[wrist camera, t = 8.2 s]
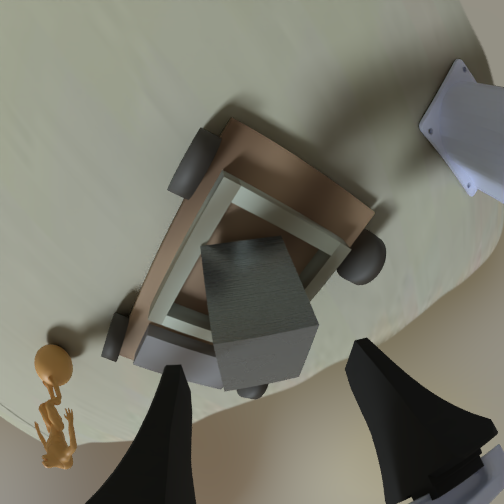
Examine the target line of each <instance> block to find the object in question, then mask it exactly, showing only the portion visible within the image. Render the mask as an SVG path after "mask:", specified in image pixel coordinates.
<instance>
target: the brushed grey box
mask: <svg viewBox="0 0 504 504" xmlns="http://www.w3.org/2000/svg"><path fill="white" fill-rule="evenodd" d="M200 249H201V258H202V266H203V275H204V283H205V291H206V298H207V306H208V313H209V320H210V327H211V334H212V340H213V346H214V350H215V354H216V359H217V363H218V367H219V371H220V375H221V379H222V383H223V387H224V391H230V390H236V389H242V388H248V387H253V386H258V385H264V384H268V383H273V382H278V381H282V380H287V379H291V378H295V377H299V375H300V373H301V370H302V368H303V365H304V363H305V360H306V358H307V355H308V353H309V350H310V348H311V345H312V342H313V340H314V337H315V334H316V332H317V329H318V326H319V324H318V321H317V319H316V316H315V314H314V311H313V309H312V307H311V304H310V302H309V299H308V297H307V295H306V292H305V290H304V288H303V285H302V283H301V280H300V278H299V276H298V273H297V271H296V269H295V266H294V264H293V262H292V259H291V257H290V255H289V253H288V250H287V248H286V246H285V243H284V241H283V239H282V237H281V235H280V236H273V237H265V238H257V239H250V240H242V241H235V242H227V243H220V244H213V245H205V246H200Z"/></svg>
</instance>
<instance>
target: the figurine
mask: <svg viewBox="0 0 504 504" xmlns="http://www.w3.org/2000/svg"><path fill="white" fill-rule="evenodd" d="M35 369H36V372H37V374H38V375H39V377H40V378H41V379H42V380H43V384H44V385H45V386H46V387H47V389H48V391H49V394H50V397H51V399H50V400H48V401H47V402H45V403H42V404H41V405H40V406H39V411H40V413H41V415H42V417H43V420H44V422H45V424H46V427H47V430H48V433H50V435H49V438H48V440H47V443H46V441H45V439H44V437H43V436H42V434H41V433H40V430H39V427H38V423H35V428H36V430H37V433H38V435H39V438H40V440H41V442H42V443H43V445H44V448H45V450H46V452H47V454H46V455H43V456H42V458H43V459H44V460H45V461H43V462H42V463H43V465H44V466H45V467H46V468H52V467H58V468H62V469H69V468H71V467H72V465H73V458H72V454H73V453H74V452H75V450H76V448H77V443H76V439H75V432H74V427H73V412H72V409H71V413H70V410H69V408H68V411H69V413H68V412H67V410H66V408H65V410H66V414H67V416H65V415H64V416H65V418H66V419H67V420H68V421H69V435H70V446H69V447H68V445H67V443H66V441H65V437H64V434H63V432H62V430H63V429H64V424H63V422H62V418H61V416H60V415H59V414H58V412H57V409H56V408H55V407H54V404H55V405H59V404H60V403H61V398H62V397H61V393H60V390H59V386H61V385H64V384H65V383H67V382H68V381H69V379H70V378H71V376H72V372H73V365H72V361H71V358H70V356H69V355H68V353H67V352H66V351H65V350H64V349H62V348H61V347H59V346H57V345H45V346H43V347H42V348H40V349H39V350H38V352H37V354H36V356H35ZM53 387H54V389H55V392H56V395H57V397H55V396H54V392H53Z"/></svg>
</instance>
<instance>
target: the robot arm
mask: <svg viewBox="0 0 504 504" xmlns="http://www.w3.org/2000/svg"><path fill="white" fill-rule="evenodd" d="M419 128H420V131H421V132H422V133H423V134H424V135H425V137H426V138H427V139H428V140H429V141H430V143H431V144H432V145H433V146H434V148H435V149H436V150H437V151H438V153H439V154H440V155H441V157H442V158H443V159H444V161H445V162H446V163H447V165H448V166H449V167H450V169H451V170H452V171H453V173H454V174H455V176H456V177H457V179H458V180H459V181H460V183H461V184H462V186H463V187H464V189H465V190H466V192H467V193H468V195H470V196H474V194H475V193H476V191H477V189H478V190H480V191H482V192H484V193H486V194H488V195H489V196H491V197H493V198H495V199H496V200H498V201H500V202H501V203H503V204H504V87H500V86H494V85H488V84H482V83H477V82H476V80H475V79H474V77H473V75H472V74H471V72H470V71H469V69H468V68H467V67H466V65H465V64H464V62H463V61H462V60H461V59H456V60H455V61H454V63H453V65H452V67H451V69H450V71H449V72H448V74H447V76H446V78H445V80H444V82H443V83H442V85H441V87H440V89H439V91H438V92H437V94H436V96H435V98H434V99H433V101H432V103H431V104H430V106H429V108H428V110H427V111H426V113H425V115H424V116H423V118H422V120H421V121H420V124H419ZM429 129H430V132H429V133H428V130H429ZM345 371H346V374H347V377H348V381H349V384H350V387H351V390H352V392H353V394H354V396H355V398H356V401H357V403H358V405H359V407H360V410H361V412H362V414H363V416H364V418H365V420H366V423H367V425H368V427H369V430H370V432H371V435H372V439H373V442H374V445H375V449H376V452H377V456H378V460H379V464H380V469H381V474H382V480H383V487H384V495H385V502H386V504H397V503H399V502H402V501H404V500H406V499H408V498H410V497H412V499H413V502H411V503H409V504H489V503H490V502H491V501H492V500H493V499H494V498H495V497H496V496H497V495H498V494H499V493H500V492H501V491H502V490H503V489H504V452H503V450H502V448H501V446H500V445H499V444H498V445H497V446H495V447H494V448H493V449H492V450H490V451H489V452H488V453H487V454H485V455H484V456H482V457H481V458H480V456H479V455H480V454H481V453H482V451H481V449H480V448H481V447H482V446H483V445H485V444H486V443H487V442H488V441H490V440H491V439H492V438H493V437H494V436H496V435H497V434H498V431H497V430H496V427H495V426H494V424H493V422H492V421H491V419H488V418H485V417H482V416H479V415H476V414H473V413H470V412H468V411H465V410H463V409H461V408H459V407H457V406H454V405H453V404H451V403H449V402H447V401H445V400H443V399H441V398H440V397H438V396H437V395H435V394H434V393H432V392H430V391H429V390H428V389H426V388H425V387H423V386H422V385H420V384H419V383H418V382H417V381H415V380H414V379H413V378H411V377H410V376H409V375H408V374H407V373H405V372H404V371H403V370H402V369H401V368H400V367H399V366H397V365H396V364H395V363H394V362H393V361H392V360H390V358H388V357H387V356H386V355H385V354H384V353H383V352H382V351H381V350H380V349H378V347H377V346H376V345H374V344H373V343H372V342H371V341H370V340H369V339H368V338H363V339H359V340H355V341H354V344H353V347H352V350H351V353H350V356H349V359H348V362H347V364H346V367H345ZM191 436H192V404H191V391H190V388H189V385H188V383H187V380H186V377H185V374H184V371H183V368H182V365H181V364H179V365H166V366H165V367H164V370H163V374H162V377H161V380H160V383H159V385H158V388H157V391H156V393H155V396H154V398H153V401H152V403H151V406H150V408H149V410H148V413H147V415H146V417H145V419H144V421H143V423H142V425H141V427H140V429H139V431H138V433H137V435H136V437H135V439H134V441H133V442H132V444H131V446H130V448H129V449H128V451H127V452H126V454H125V455H124V457H123V458H122V460H121V462H120V463H119V464H118V466H117V467H116V469H115V470H114V472H113V473H112V474H111V475H110V476H109V478H108V479H107V480H106V481H105V483H104V484H103V485H102V486H101V487H100V489H99V490H98V491H97V492H96V493H95V494H94V495H93V496H92V497H91V498H90V499H89V500H88V501H87V502H86V503H85V504H196V500H195V492H194V485H193V478H192V468H191Z"/></svg>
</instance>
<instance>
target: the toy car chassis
mask: <svg viewBox="0 0 504 504" xmlns="http://www.w3.org/2000/svg"><path fill="white" fill-rule="evenodd" d="M167 190H168V191H170V192H172V193H174V194H177V195H179V196H181V197H183V198H184V200H183V202H182V204H181V205H180V207H179V209H178V211H177V213H176V215H175V217H174V219H173V221H172V223H171V225H170V227H169V229H168V231H167V233H166V235H165V237H164V239H163V241H162V243H161V246H160V248H159V250H158V252H157V254H156V256H155V258H154V260H153V263H152V265H151V267H150V269H149V271H148V274H147V276H146V278H145V280H144V283H143V285H142V287H141V289H140V292H139V294H138V296H137V299H136V301H135V304H134V306H133V308H132V311H131V313H130V316H129V318H127V317H125V316H122V315H120V314H118V313H114V316H113V319H112V322H111V325H110V328H109V331H108V334H107V337H106V341H105V344H104V348H103V351H102V355H101V356H102V357H104V358H107V359H109V360H112V361H115V362H116V361H117V359H118V356H119V355H121V356H123V357H126V358H129V359H132V360H134V362H133V364H134V365H136V366H139V367H142V368H145V369H148V370H152V371H155V372H158V373H161V374H163V370H164V367H165V366H166V365H179V364H181V365H182V368H183V371H184V374H185V377H186V380H187V381H189V382H193V383H197V384H200V385H204V386H209V387H213V388H217V389H222V388H223V383H222V379H221V375H220V371H219V367H218V363H217V359H216V354H215V350H214V346H213V340H212V334H211V327H210V320H209V313H208V306H207V298H206V291H205V283H204V275H203V266H202V258H201V249H200V246H205V245H213V244H220V243H227V242H235V241H242V240H250V239H257V238H265V237H273V236H280V235H281V237H282V239H283V241H284V243H285V246H286V248H287V250H288V253H289V255H290V257H291V259H292V262H293V264H294V266H295V269H296V271H297V273H298V276H299V278H300V280H301V283H302V285H303V288H304V290H305V292H306V295H307V297H308V299H309V302H310V301H311V300H312V299H313V298H314V296H315V295H316V294H317V293H318V291H319V290H320V289H321V288H322V287H323V285H324V284H325V283H326V282H327V280H328V279H329V278H330V277H331V275H332V274H333V273H334V272H335V270H336V269H337V272H338V274H339V275H340V276H341V277H342V278H344V279H346V280H348V281H350V282H352V283H354V284H356V285H364V284H367V283H369V282H371V281H372V280H373V279H374V278H376V276H377V275H378V274H379V273H380V271H381V270H382V268H383V266H384V263H385V259H386V248H385V245H384V243H383V241H382V240H381V239H380V238H378V237H377V236H376V235H374V234H373V233H371V232H370V231H369V230H366V229H364V228H365V226H366V225H367V224H368V222H369V221H370V219H371V218H372V217H373V215H374V214H375V212H374V211H372V210H371V209H370V208H369V207H367V206H366V205H365V204H363V203H362V202H361V201H359V200H358V199H357V198H355V197H354V196H353V195H351V194H350V193H349V192H347V191H346V190H345V189H343V188H342V187H341V186H339V185H338V184H336V183H335V182H334V181H332V180H331V179H329V178H328V177H327V176H325V175H324V174H322V173H321V172H319V171H318V170H316V169H315V168H314V167H312V166H311V165H309V164H308V163H306V162H305V161H303V160H302V159H300V158H298V157H297V156H295V155H294V154H292V153H291V152H289V151H288V150H286V149H284V148H283V147H281V146H280V145H278V144H277V143H275V142H273V141H272V140H270V139H268V138H267V137H265V136H263V135H262V134H260V133H258V132H257V131H255V130H253V129H252V128H250V127H248V126H246V125H245V124H243V123H241V122H239V121H238V120H236V119H234V118H232V117H231V118H230V120H229V121H228V123H227V125H226V126H225V128H224V129H223V131H222V133H221V134H220V136H219V137H218V136H216V135H214V134H212V133H210V132H208V131H206V130H205V129H203V128H200V129H199V131H198V132H197V134H196V136H195V137H194V139H193V141H192V143H191V144H190V146H189V148H188V150H187V152H186V153H185V155H184V157H183V159H182V161H181V163H180V165H179V167H178V168H177V170H176V172H175V174H174V176H173V178H172V180H171V182H170V184H169V187H168V189H167ZM268 384H269V383H268ZM268 384H264V385H258V386H253V387H248V388H242V389H237V393H238V394H239V396H241V397H245V398H250V399H258V398H260V397H261V396H262V395H263V394H264V393H265V391H266V389H267V387H268Z"/></svg>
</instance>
